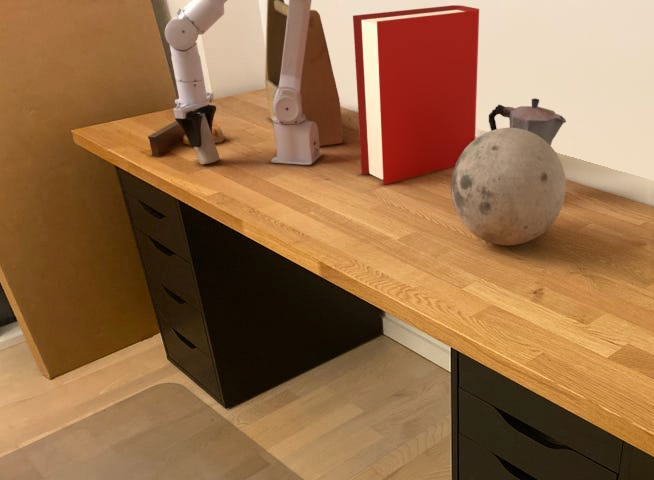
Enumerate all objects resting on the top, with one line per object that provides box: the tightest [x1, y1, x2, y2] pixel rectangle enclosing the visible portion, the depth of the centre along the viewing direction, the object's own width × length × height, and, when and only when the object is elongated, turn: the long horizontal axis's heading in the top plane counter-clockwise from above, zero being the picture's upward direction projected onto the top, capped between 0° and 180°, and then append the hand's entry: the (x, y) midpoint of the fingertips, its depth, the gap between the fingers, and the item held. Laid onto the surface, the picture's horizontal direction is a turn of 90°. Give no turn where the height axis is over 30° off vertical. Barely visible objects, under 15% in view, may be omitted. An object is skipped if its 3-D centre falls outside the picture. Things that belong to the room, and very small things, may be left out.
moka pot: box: [488, 98, 567, 147], centre depth 144 cm, size 10×15×20 cm, turn 78°
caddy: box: [264, 0, 344, 147], centre depth 177 cm, size 29×11×30 cm, turn 28°
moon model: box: [450, 127, 567, 246], centre depth 126 cm, size 20×20×20 cm
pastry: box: [182, 122, 225, 146], centre depth 174 cm, size 9×7×4 cm
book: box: [352, 4, 480, 186], centre depth 155 cm, size 27×8×32 cm, turn 131°
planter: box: [193, 112, 220, 165], centre depth 160 cm, size 4×4×10 cm
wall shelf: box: [147, 120, 186, 157], centre depth 172 cm, size 2×18×4 cm, turn 171°
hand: (201, 143), depth 161 cm, fingers closed on planter, 4 cm apart
